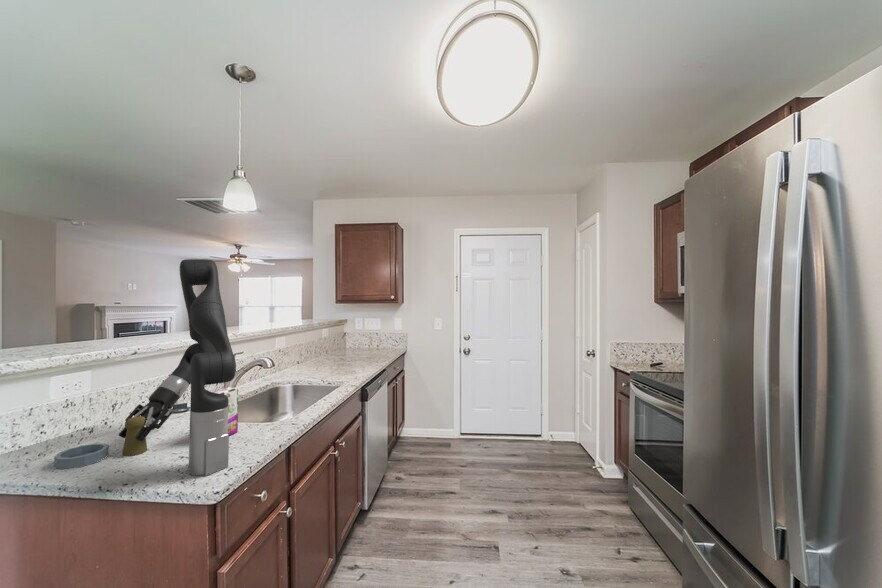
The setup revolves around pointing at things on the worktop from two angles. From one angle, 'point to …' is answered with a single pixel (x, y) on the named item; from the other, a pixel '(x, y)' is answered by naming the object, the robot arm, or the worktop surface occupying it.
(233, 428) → the candy bar box
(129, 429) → the cork
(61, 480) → the worktop surface
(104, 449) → the dish
